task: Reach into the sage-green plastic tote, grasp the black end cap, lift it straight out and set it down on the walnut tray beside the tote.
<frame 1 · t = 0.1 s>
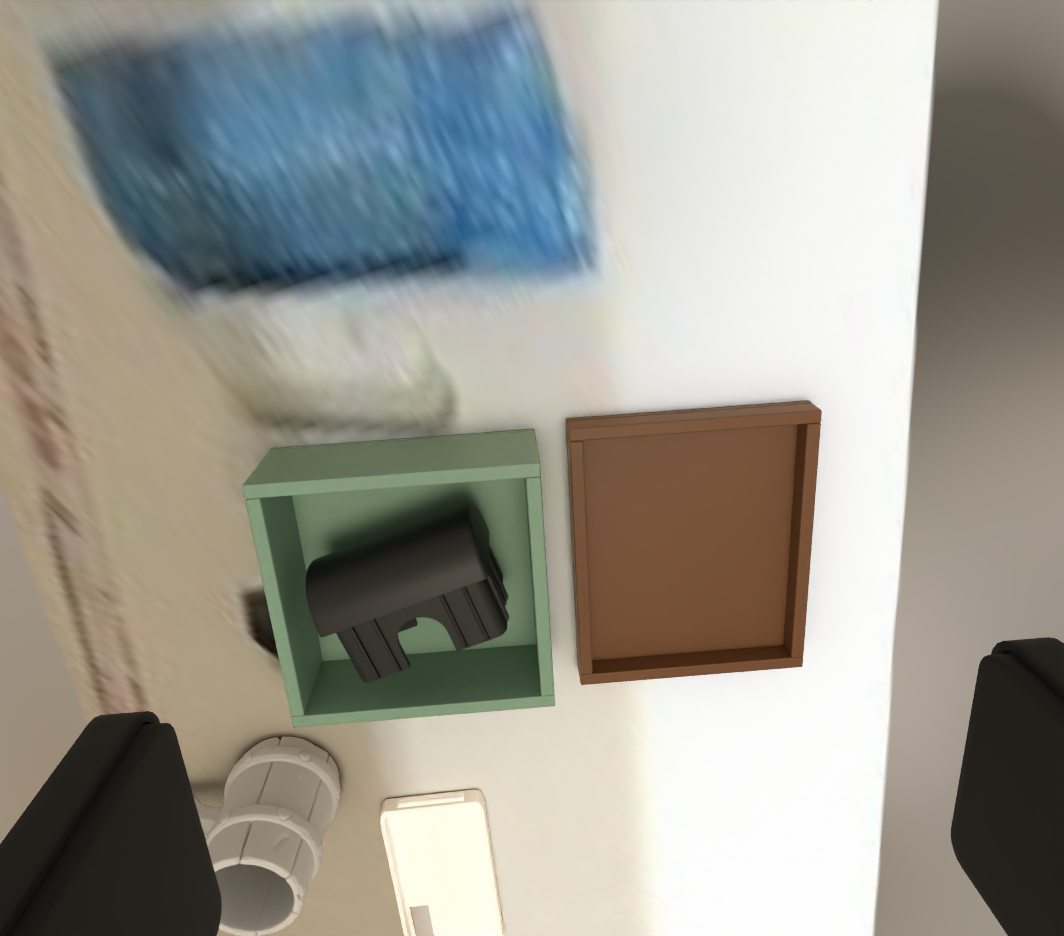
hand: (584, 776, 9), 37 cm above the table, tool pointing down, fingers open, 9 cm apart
tote: (418, 555, 49), on the table
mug: (260, 777, 55), on the table
end cap: (418, 556, 49), resting in tote
phone case: (445, 868, 58), on the table
tray: (686, 541, 49), on the table
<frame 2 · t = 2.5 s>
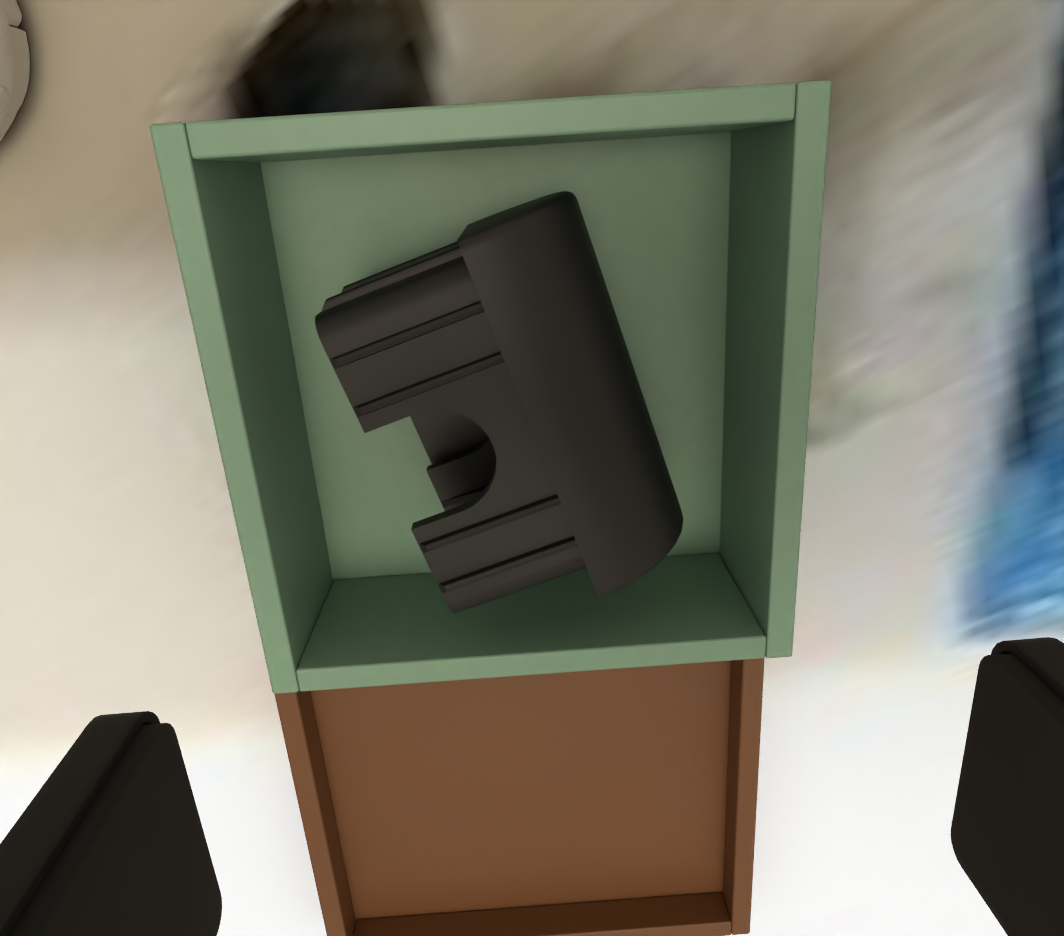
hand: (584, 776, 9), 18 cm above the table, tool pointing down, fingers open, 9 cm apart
tote: (512, 374, 26), on the table
end cap: (512, 375, 26), resting in tote
tray: (529, 778, 32), on the table
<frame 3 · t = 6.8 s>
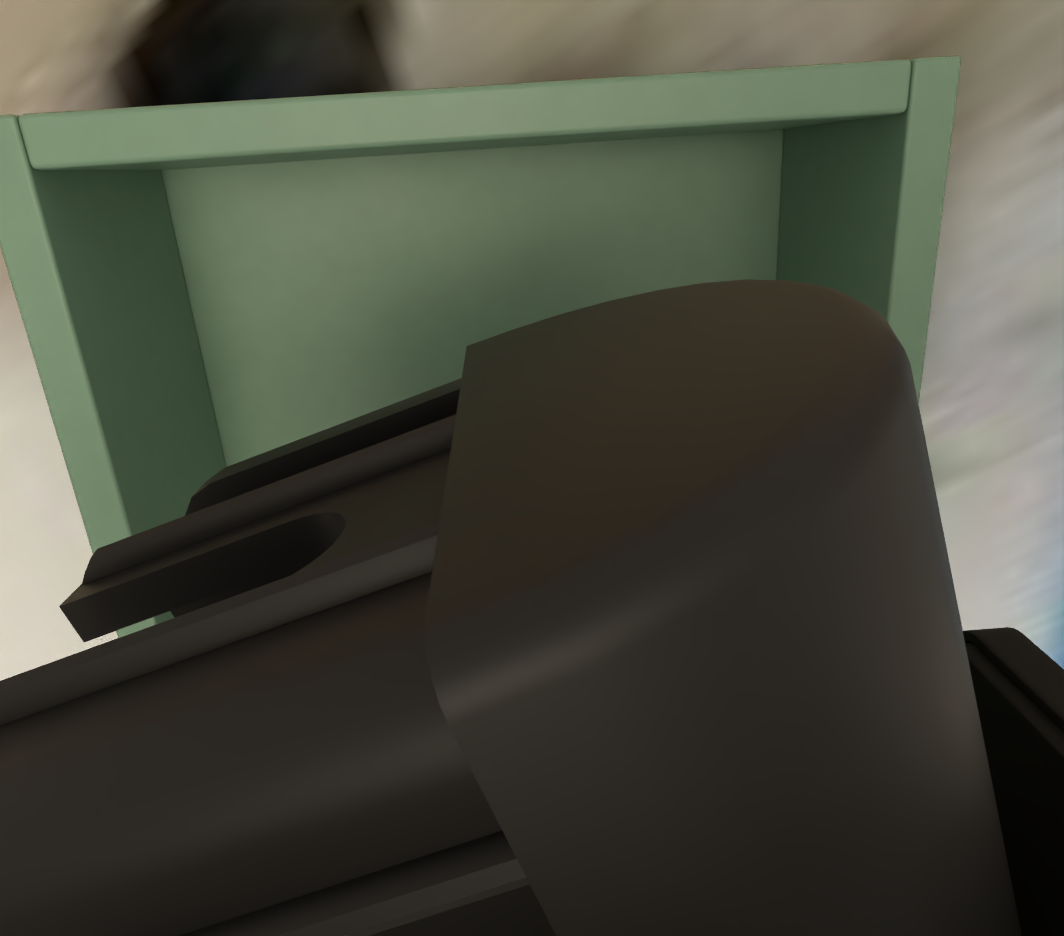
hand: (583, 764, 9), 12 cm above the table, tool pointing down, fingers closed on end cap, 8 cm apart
tote: (501, 438, 20), on the table
end cap: (568, 660, 11), point 10 cm above the table, touching gripper
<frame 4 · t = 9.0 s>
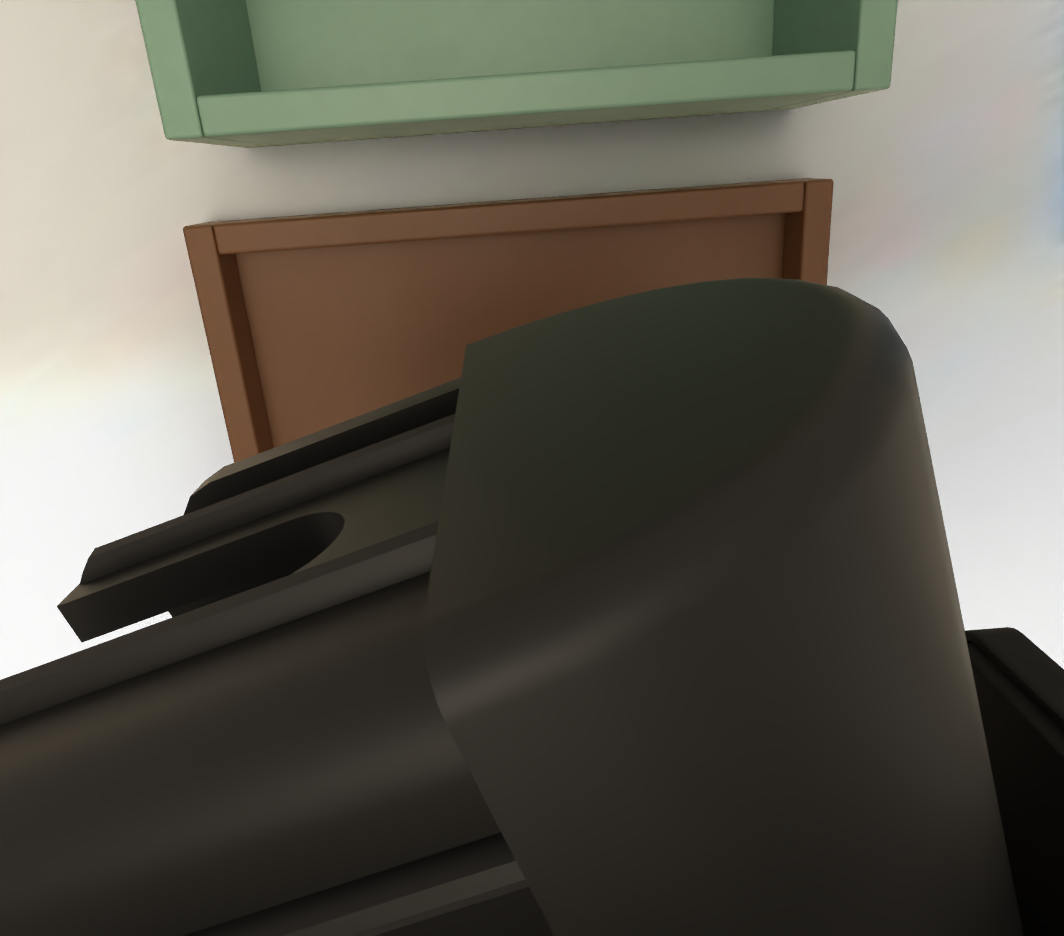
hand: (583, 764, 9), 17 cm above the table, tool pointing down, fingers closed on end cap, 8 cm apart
end cap: (568, 660, 11), point 15 cm above the table, touching gripper
tray: (526, 436, 25), on the table
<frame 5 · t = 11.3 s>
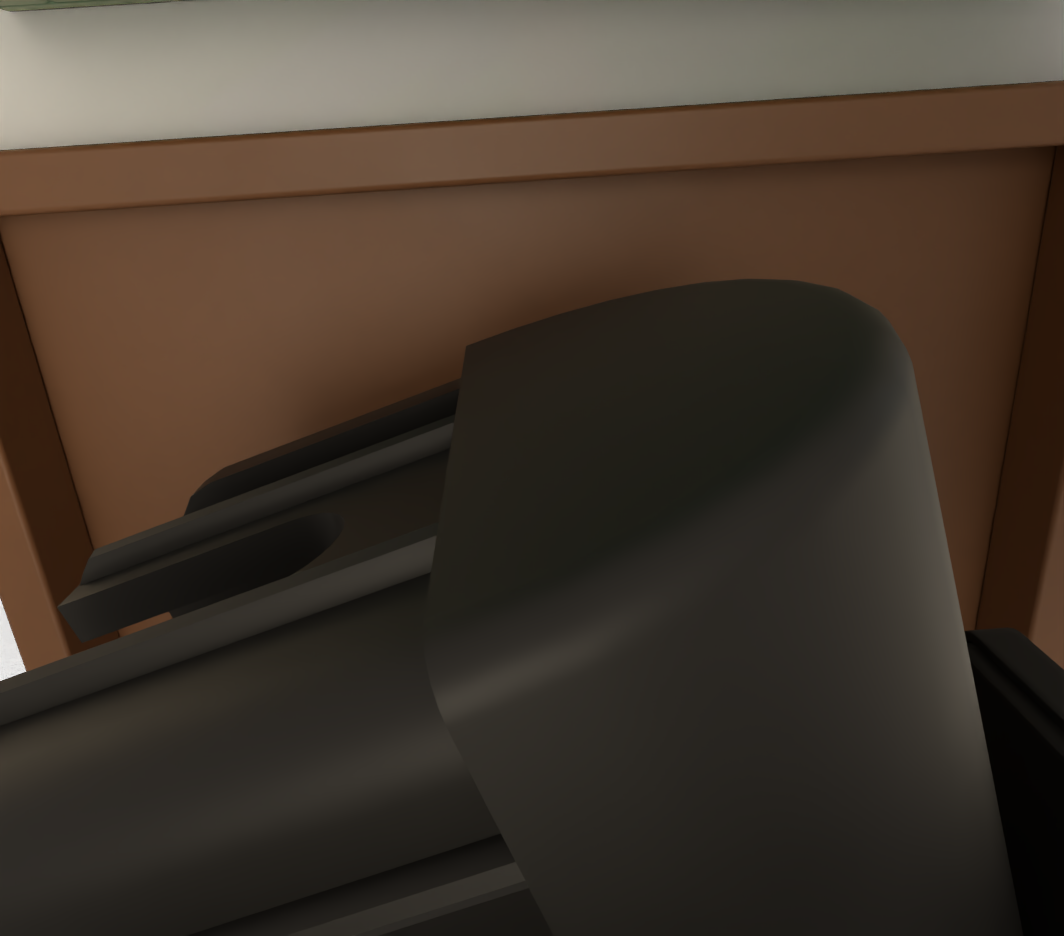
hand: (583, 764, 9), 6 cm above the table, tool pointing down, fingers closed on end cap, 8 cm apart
end cap: (568, 661, 11), point 4 cm above the table, touching gripper
tray: (552, 549, 14), on the table
when the fingers open (2 cm above the table, at t = 12.9 s): end cap stays where it is, resting on tray.
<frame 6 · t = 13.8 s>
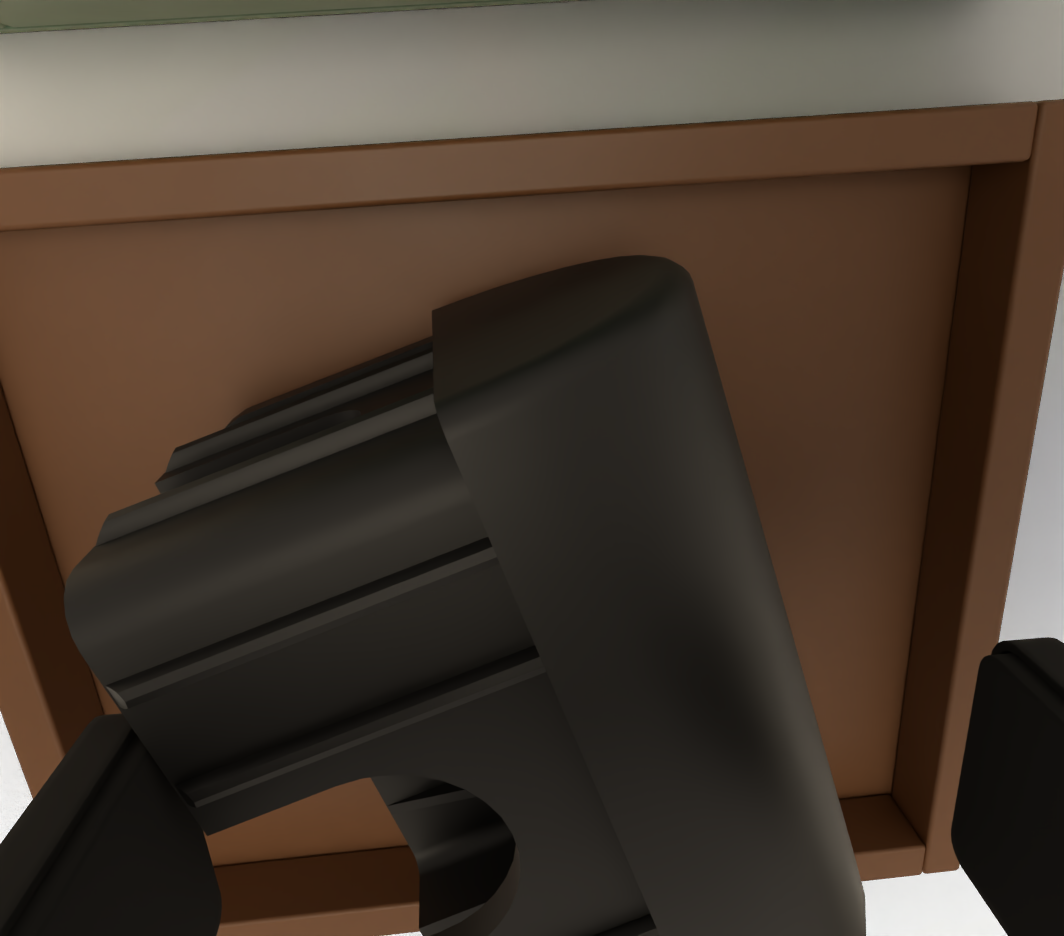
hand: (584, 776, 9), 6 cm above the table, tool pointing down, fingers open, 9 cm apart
end cap: (510, 562, 15), resting on tray, touching gripper
tray: (507, 552, 15), on the table
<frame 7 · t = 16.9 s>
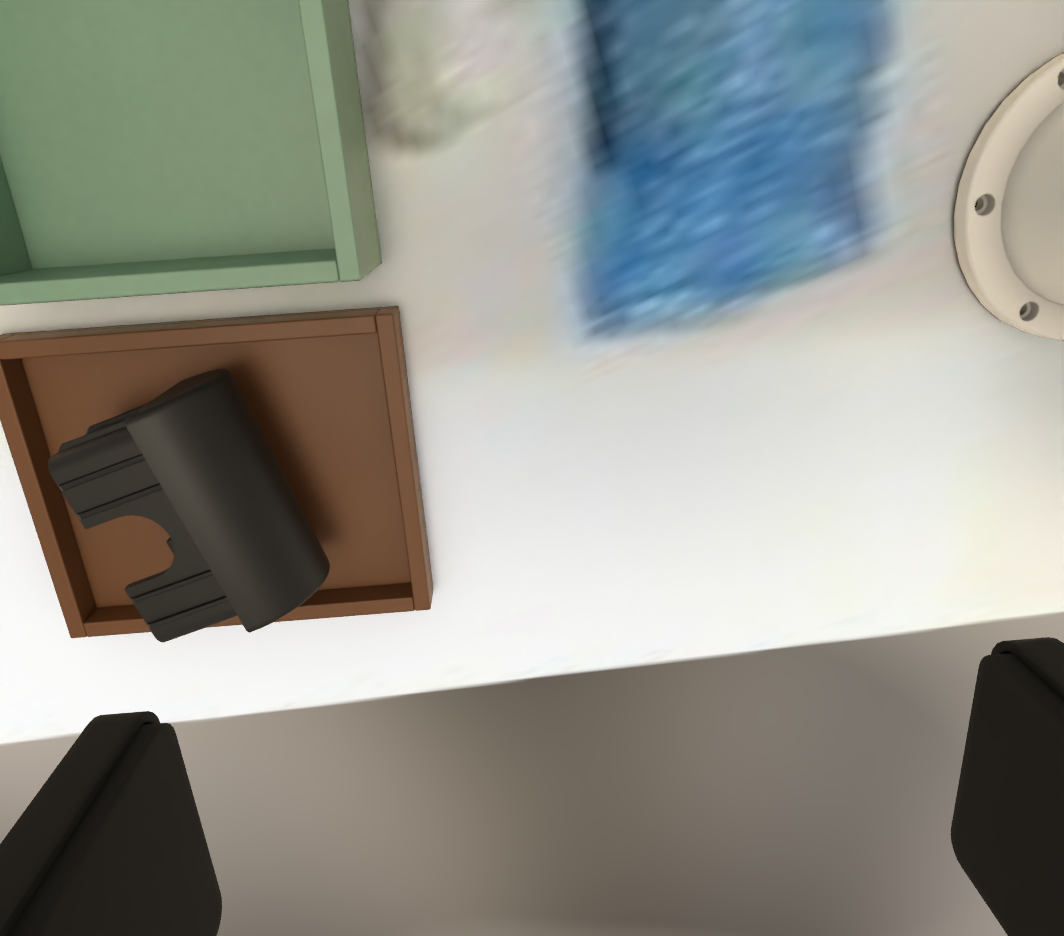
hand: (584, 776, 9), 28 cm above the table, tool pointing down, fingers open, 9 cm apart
tote: (162, 78, 31), on the table
end cap: (233, 473, 37), resting on tray
tray: (234, 471, 37), on the table
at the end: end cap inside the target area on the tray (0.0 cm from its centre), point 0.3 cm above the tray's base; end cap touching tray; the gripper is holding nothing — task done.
